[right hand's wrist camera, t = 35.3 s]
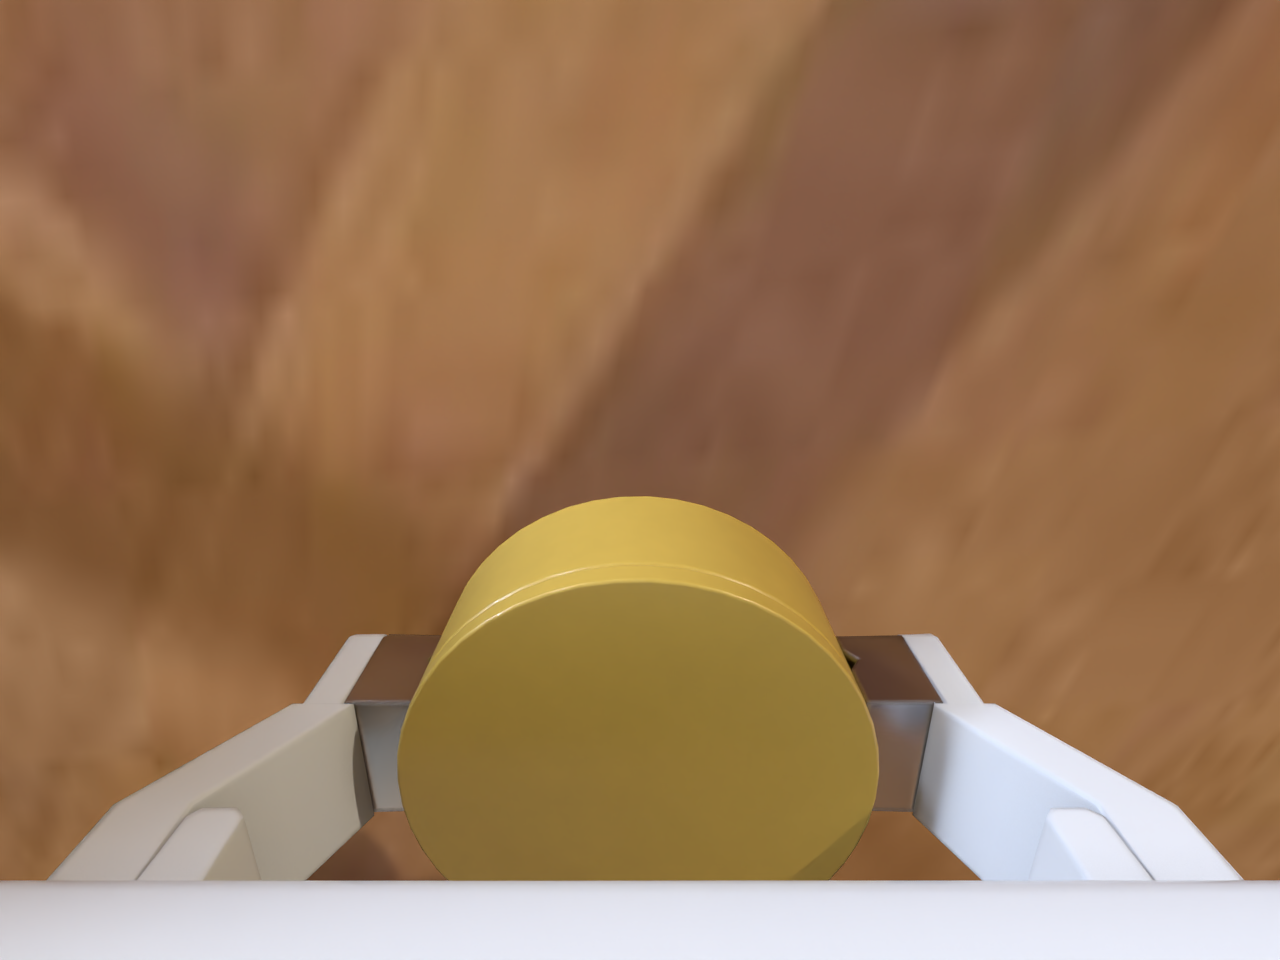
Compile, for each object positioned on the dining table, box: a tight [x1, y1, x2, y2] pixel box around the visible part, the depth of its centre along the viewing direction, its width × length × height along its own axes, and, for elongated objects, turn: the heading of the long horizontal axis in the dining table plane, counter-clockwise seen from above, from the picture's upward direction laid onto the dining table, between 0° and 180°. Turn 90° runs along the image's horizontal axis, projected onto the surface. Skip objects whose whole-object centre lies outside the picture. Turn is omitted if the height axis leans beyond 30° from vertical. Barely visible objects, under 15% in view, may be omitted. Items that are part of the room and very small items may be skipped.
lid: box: [397, 496, 879, 881], centre depth 9 cm, size 6×6×2 cm
